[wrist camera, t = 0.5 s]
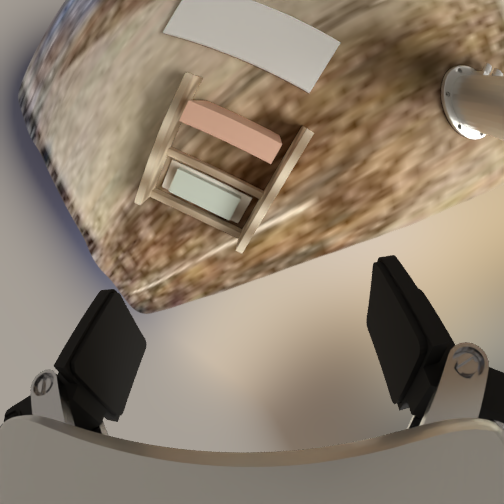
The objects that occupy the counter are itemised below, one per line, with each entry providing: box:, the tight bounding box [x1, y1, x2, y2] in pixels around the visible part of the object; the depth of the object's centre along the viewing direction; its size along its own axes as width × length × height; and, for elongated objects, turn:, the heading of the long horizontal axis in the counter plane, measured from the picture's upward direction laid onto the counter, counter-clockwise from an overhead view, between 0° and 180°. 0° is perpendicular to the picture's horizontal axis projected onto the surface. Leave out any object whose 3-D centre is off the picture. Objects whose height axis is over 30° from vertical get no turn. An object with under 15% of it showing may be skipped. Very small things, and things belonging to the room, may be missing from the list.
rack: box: [135, 72, 314, 253], centre depth 34 cm, size 19×17×5 cm
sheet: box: [179, 100, 282, 164], centre depth 30 cm, size 2×11×9 cm, turn 63°
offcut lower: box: [162, 160, 252, 223], centre depth 39 cm, size 5×13×1 cm, turn 62°
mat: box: [163, 0, 341, 93], centre depth 26 cm, size 9×22×1 cm, turn 63°
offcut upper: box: [169, 167, 242, 220], centre depth 38 cm, size 4×10×1 cm, turn 62°
